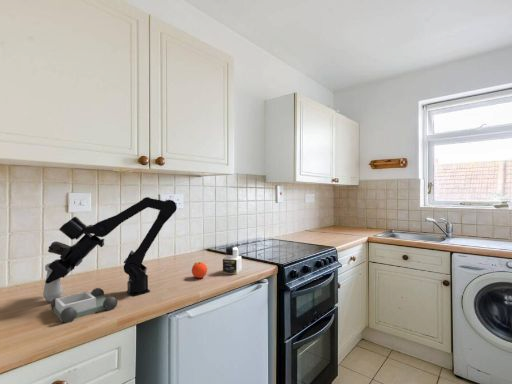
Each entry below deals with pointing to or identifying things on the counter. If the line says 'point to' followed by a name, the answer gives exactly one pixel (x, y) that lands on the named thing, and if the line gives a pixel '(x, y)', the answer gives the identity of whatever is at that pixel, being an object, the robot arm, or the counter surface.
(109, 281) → the counter surface
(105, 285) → the counter surface
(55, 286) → the salt shaker
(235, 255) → the medicine bottle
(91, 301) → the toy wheeled cart
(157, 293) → the counter surface
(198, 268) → the clementine
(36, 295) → the counter surface
